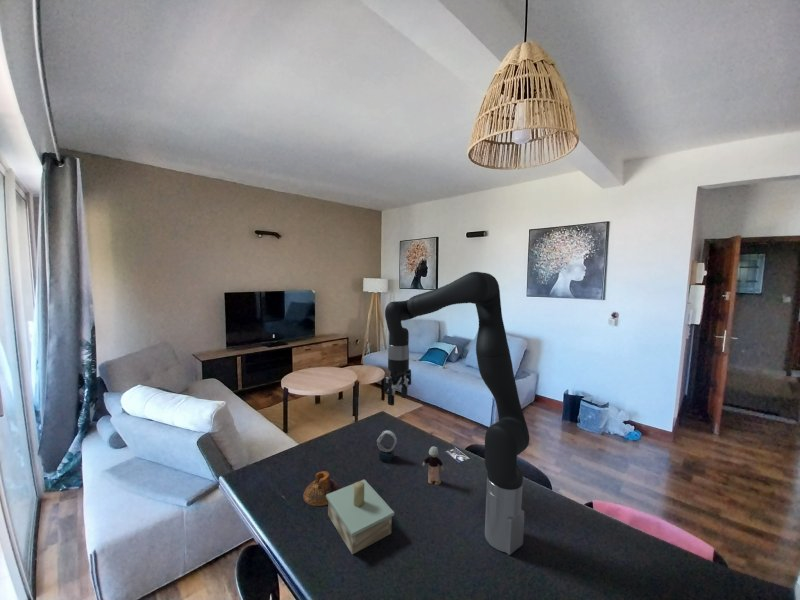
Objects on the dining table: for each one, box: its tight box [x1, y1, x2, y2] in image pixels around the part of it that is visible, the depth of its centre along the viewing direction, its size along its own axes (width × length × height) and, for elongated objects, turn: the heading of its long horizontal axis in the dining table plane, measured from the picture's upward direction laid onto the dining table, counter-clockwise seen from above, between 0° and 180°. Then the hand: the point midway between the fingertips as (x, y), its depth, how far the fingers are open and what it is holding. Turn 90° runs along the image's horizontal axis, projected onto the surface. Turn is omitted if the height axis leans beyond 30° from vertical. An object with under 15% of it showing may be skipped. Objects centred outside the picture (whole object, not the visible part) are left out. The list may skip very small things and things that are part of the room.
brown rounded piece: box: [302, 470, 341, 507], centre depth 101 cm, size 12×12×7 cm
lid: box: [326, 479, 395, 536], centre depth 89 cm, size 17×13×6 cm
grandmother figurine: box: [422, 446, 445, 486], centre depth 109 cm, size 8×4×13 cm, turn 84°
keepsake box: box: [327, 501, 393, 555], centre depth 89 cm, size 16×12×6 cm
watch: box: [376, 429, 398, 464], centre depth 123 cm, size 6×8×11 cm
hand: (397, 401), depth 112 cm, fingers open, 8 cm apart
